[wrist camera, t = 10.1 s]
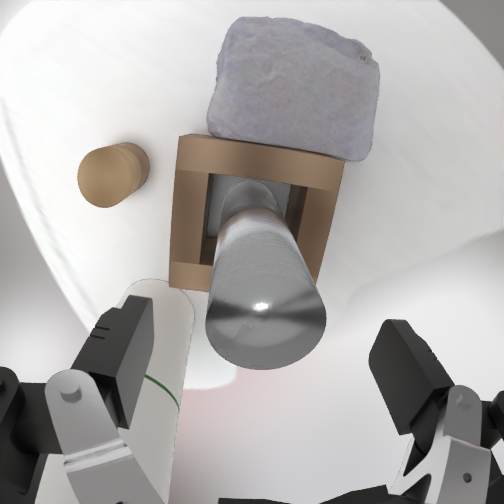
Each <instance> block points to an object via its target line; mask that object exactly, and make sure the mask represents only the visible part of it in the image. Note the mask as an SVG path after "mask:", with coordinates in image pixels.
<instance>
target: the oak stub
mask: <svg viewBox="0 0 504 504" xmlns="http://www.w3.org/2000/svg"><path fill="white" fill-rule="evenodd" d="M148 174H149V161H148V158H147V156H146V154H145V152H144V151H143V150H142V149H141V148H140V147H139V146H137V145H135V144H132V143H121V144H116V145H111V146H107V147H103V148H98V149H95V150H93V151H91V152H90V153H88V154H87V155H86V156H85V157H84V159H83V160H82V162H81V164H80V166H79V169H78V185H79V189H80V191H81V193H82V195H83V196H84V198H85V199H86V200H87V201H88V202H90V203H91V204H93V205H95V206H97V207H102V208H108V207H112V206H115V205H117V204H118V203H120V202H121V201H122V200H124V199H125V198H126V197H128V196H129V195H130V194H132V193H133V192H134V191H136V190H137V189H139V188H140V187H141V186H142V185H143V184H144V183H145V181H146V179H147V177H148Z"/></svg>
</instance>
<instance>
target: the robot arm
mask: <svg viewBox="0 0 504 504" xmlns="http://www.w3.org/2000/svg"><path fill="white" fill-rule="evenodd" d="M153 346H154V319H153V300H152V298H149V297H142V296H135V295H129V296H128V297H127V299H126V301H125V302H124V304H123V306H122V308H121V309H120V308H114V307H112V308H111V309H110V310H108V311H107V312H105V313H104V314H102V315H101V317H100V318H99V320H98V322H97V323H96V325H95V328H93V330H92V332H91V333H90V337H88V338H87V340H86V342H85V344H84V345H83V347H82V349H81V351H80V352H79V354H78V356H77V358H76V360H75V361H74V363H73V365H72V367H71V368H70V370H63V371H60V372H58V373H56V374H55V375H53V376H52V377H51V378H50V379H49V380H48V382H47V383H23V382H19V380H18V378H17V376H16V374H15V373H14V372H13V371H12V370H11V369H9V368H6V367H0V504H35V500H36V496H37V493H38V489H39V485H40V481H41V478H42V474H43V471H44V468H45V464H46V461H47V458H48V455H49V454H63V455H64V458H65V462H64V468H65V471H66V474H67V477H68V479H69V482H70V484H71V486H72V489H73V491H74V493H75V495H76V498H77V500H78V502H79V504H165V503H164V502H163V500H162V499H161V497H160V496H159V495H158V493H157V492H156V490H155V489H154V487H153V486H152V484H151V483H150V481H149V480H148V478H147V476H146V475H145V473H144V472H143V470H142V468H141V467H140V465H139V463H138V462H137V460H136V458H135V457H134V455H133V453H132V452H131V450H130V449H129V447H128V446H127V444H125V443H124V442H123V440H122V438H121V436H120V434H119V433H118V431H117V430H118V427H119V428H124V429H128V430H129V429H130V425H131V421H132V418H133V414H134V411H135V407H136V404H137V400H138V397H139V394H140V390H141V387H142V384H143V380H144V377H145V374H146V371H147V368H148V364H149V361H150V358H151V355H152V352H153ZM369 367H370V370H371V372H372V374H373V376H374V378H375V380H376V383H377V385H378V387H379V389H380V392H381V394H382V396H383V399H384V401H385V403H386V405H387V408H388V410H389V412H390V415H391V417H392V419H393V422H394V424H395V426H396V429H397V431H398V434H399V435H404V434H409V433H412V434H413V436H414V437H413V438H412V439H411V440H410V442H409V444H408V447H407V450H406V454H405V456H404V459H403V462H402V465H401V467H400V470H399V473H398V476H397V478H396V481H395V482H394V484H393V486H392V487H391V489H390V490H389V491H388V490H387V487H386V485H382V486H377V487H372V488H367V489H362V490H357V491H351V492H349V493H346V494H343V495H341V496H338V497H336V498H334V499H331V500H328V501H325V502H322V503H320V504H504V475H502V473H501V471H500V468H499V466H498V464H497V462H496V459H495V457H494V455H493V453H492V451H491V448H492V447H493V446H494V445H495V444H496V443H497V442H498V441H499V440H500V439H501V438H502V439H503V441H504V391H501V392H499V393H498V394H497V396H496V397H495V398H494V400H493V401H492V402H491V401H481V400H480V398H479V396H478V395H477V394H476V393H475V392H474V391H473V390H472V389H470V388H468V387H466V386H463V385H456V386H455V384H454V383H453V381H452V380H451V378H450V377H449V375H448V374H447V373H446V371H445V369H444V368H443V366H442V365H441V363H440V362H439V360H437V357H436V356H435V354H434V353H432V350H431V349H430V347H429V346H428V344H427V343H426V342H425V341H424V340H423V339H422V338H421V337H420V336H418V335H417V334H416V333H415V332H414V330H413V329H412V327H411V326H410V325H409V323H408V322H407V321H406V320H396V319H387V320H385V321H384V323H383V324H382V326H381V328H380V331H379V333H378V335H377V338H376V340H375V343H374V345H373V347H372V349H371V351H370V354H369ZM218 504H289V503H283V502H277V501H272V500H266V499H230V498H219V500H218Z"/></svg>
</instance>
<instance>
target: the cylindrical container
mask: <svg viewBox="0 0 504 504" xmlns="http://www.w3.org/2000/svg"><path fill="white" fill-rule="evenodd" d="M129 295H135V296H142V297H149V298H152V300H153V319H154V346H153V352H152V355H151V358H150V361H149V364H148V368H147V371H146V374H145V377H144V380H143V384H142V387H141V390H140V394H139V397H138V400H137V404H136V407H135V411H134V414H133V418H132V421H131V425H130V429H129V430H128V429H124V428H119V427H118V430H117V431H118V433H119V434H120V436H121V438H122V440H123V442H124V443H125V444H127V446H128V447H129V449H130V450H131V452H132V453H133V455H134V457H135V458H136V460H137V462H138V463H139V465H140V467H141V468H142V470H143V472H144V473H145V475H146V476H147V478H148V480H149V481H150V483H151V484H152V486H153V487H154V489H155V490H156V492H157V493H158V495H159V496H160V497H161V499H162V500H163V502H164V503H165V504H168V499H169V488H170V480H171V471H172V463H173V455H174V447H175V439H176V432H177V425H178V418H179V410H180V403H181V397H182V390H183V384H184V378H185V371H186V365H187V359H188V353H189V347H190V341H191V335H192V330H193V324H194V319H195V317H194V309H193V306H192V304H191V302H190V300H189V298H188V297H187V296H186V294H184V293H183V292H182V291H181V290H180V289H179V288H171V287H169V283H168V282H166V281H162V280H157V279H146V280H141V281H138V282H136V283H134V284H132V285H131V286H130V287H129V288H128V289H127V290H126V291H125V293H124V294H123V296H122V298H121V300H120V301H119V303H118V305H117V307H116V308H120V309H121V308H122V306H123V304H124V302H125V301H126V299H127V297H128V296H129ZM64 462H65V458H64V455H63V454H49V455H48V458H47V461H46V464H45V468H44V471H43V474H42V478H41V481H40V485H39V489H38V493H37V496H36V500H35V504H79V502H78V500H77V498H76V495H75V493H74V491H73V489H72V486H71V484H70V482H69V479H68V477H67V474H66V471H65V468H64Z"/></svg>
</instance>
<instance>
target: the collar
mask: <svg viewBox="0 0 504 504" xmlns="http://www.w3.org/2000/svg"><path fill="white" fill-rule="evenodd" d="M344 163H345V161H343V160H340V159H337V158H335V157H332V156H329V155H326V154H321V153H316V152H311V151H306V150H301V149H294V148H288V147H281V146H274V145H267V144H261V143H254V142H247V141H241V140H234V139H224V138H219V137H215V136H208V135H198V134H188V135H183V136H179V142H178V151H177V160H176V170H175V181H174V193H173V206H172V220H171V238H170V260H169V287H171V288H179V289H187V290H195V291H203V292H210V286H211V279H212V272H213V265H214V258H215V252H216V245H217V238H209V237H206V233H207V223H208V214H209V205H210V196H211V187H212V179H213V173H215V174H223V175H231V176H239V177H247V178H254V179H261V180H268V181H275V182H281V183H288V184H291V190H290V195H289V200H288V206H287V211H286V216H285V221H286V223H287V225H288V227H289V230H290V232H291V234H292V236H293V238H294V240H295V242H296V244H297V246H298V249H299V251H300V253H301V255H302V257H303V259H304V262H305V264H306V266H307V268H308V270H309V272H310V275H311V277H312V279H313V281H314V283H315V285H316V282H317V278H318V274H319V270H320V267H321V263H322V259H323V255H324V251H325V247H326V243H327V239H328V235H329V231H330V227H331V223H332V218H333V214H334V210H335V205H336V201H337V196H338V192H339V187H340V183H341V178H342V173H343V168H344Z"/></svg>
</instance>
